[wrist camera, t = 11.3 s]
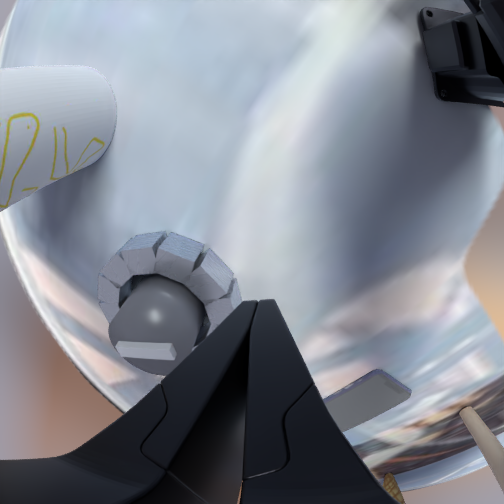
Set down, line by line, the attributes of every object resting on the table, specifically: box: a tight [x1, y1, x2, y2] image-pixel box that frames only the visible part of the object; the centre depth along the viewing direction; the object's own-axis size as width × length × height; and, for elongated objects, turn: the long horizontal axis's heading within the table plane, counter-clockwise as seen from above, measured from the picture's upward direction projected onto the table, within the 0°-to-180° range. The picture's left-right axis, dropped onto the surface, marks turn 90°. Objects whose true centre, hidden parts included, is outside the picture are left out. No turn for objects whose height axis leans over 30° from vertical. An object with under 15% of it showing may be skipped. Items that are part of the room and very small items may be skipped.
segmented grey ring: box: [98, 231, 242, 351], centre depth 23 cm, size 12×12×2 cm
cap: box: [109, 273, 207, 375], centre depth 22 cm, size 6×6×7 cm
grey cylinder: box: [0, 65, 117, 212], centre depth 13 cm, size 8×8×12 cm
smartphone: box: [323, 369, 411, 432], centre depth 30 cm, size 8×1×15 cm
